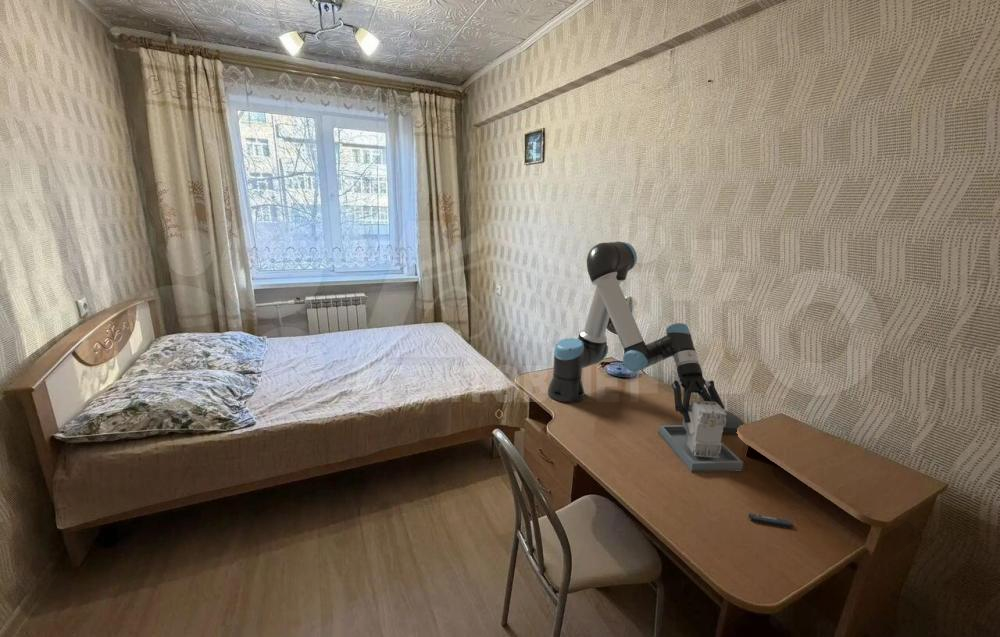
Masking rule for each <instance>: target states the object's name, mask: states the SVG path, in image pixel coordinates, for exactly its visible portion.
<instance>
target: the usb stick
mask: <svg viewBox="0 0 1000 637" xmlns="http://www.w3.org/2000/svg"><path fill="white" fill-rule="evenodd" d="M748 518H750V519H751V520H750V519H749V520H750V522H752V521H753V522H752V523H755V522H758V523H757V524H761V523H762V525H768V526H772V525H773V526H774V527H778V526H780V528H784V527H786V529H790V528H791V529H792V528H794V524H793V523H792V522H791V520H789V519H784V518H780V517H775V516H774V517H773V516H767V515H761V514H756V513H749V514H748Z"/></svg>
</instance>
